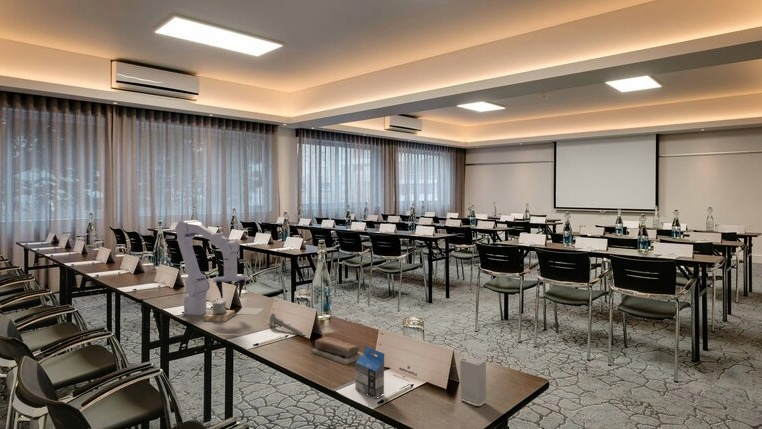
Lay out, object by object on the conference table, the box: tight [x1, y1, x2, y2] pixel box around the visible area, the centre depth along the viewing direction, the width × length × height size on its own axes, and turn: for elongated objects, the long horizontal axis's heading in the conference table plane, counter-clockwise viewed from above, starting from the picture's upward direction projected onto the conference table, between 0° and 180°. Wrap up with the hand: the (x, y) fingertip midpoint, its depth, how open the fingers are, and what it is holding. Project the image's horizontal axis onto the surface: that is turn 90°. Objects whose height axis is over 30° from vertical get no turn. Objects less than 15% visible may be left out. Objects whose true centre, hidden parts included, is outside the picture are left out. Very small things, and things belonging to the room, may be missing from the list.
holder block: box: [202, 309, 236, 322], centre depth 200 cm, size 10×10×2 cm
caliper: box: [268, 313, 303, 337], centre depth 183 cm, size 20×1×6 cm, turn 56°
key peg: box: [212, 300, 227, 315], centre depth 200 cm, size 4×4×7 cm
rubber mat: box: [235, 307, 265, 316], centre depth 210 cm, size 10×10×1 cm
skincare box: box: [459, 355, 487, 405], centre depth 123 cm, size 6×4×12 cm
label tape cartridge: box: [354, 345, 385, 399], centre depth 129 cm, size 9×4×12 cm, turn 45°
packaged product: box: [311, 336, 364, 365], centre depth 158 cm, size 18×5×10 cm
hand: (230, 297), depth 201 cm, fingers open, 7 cm apart
